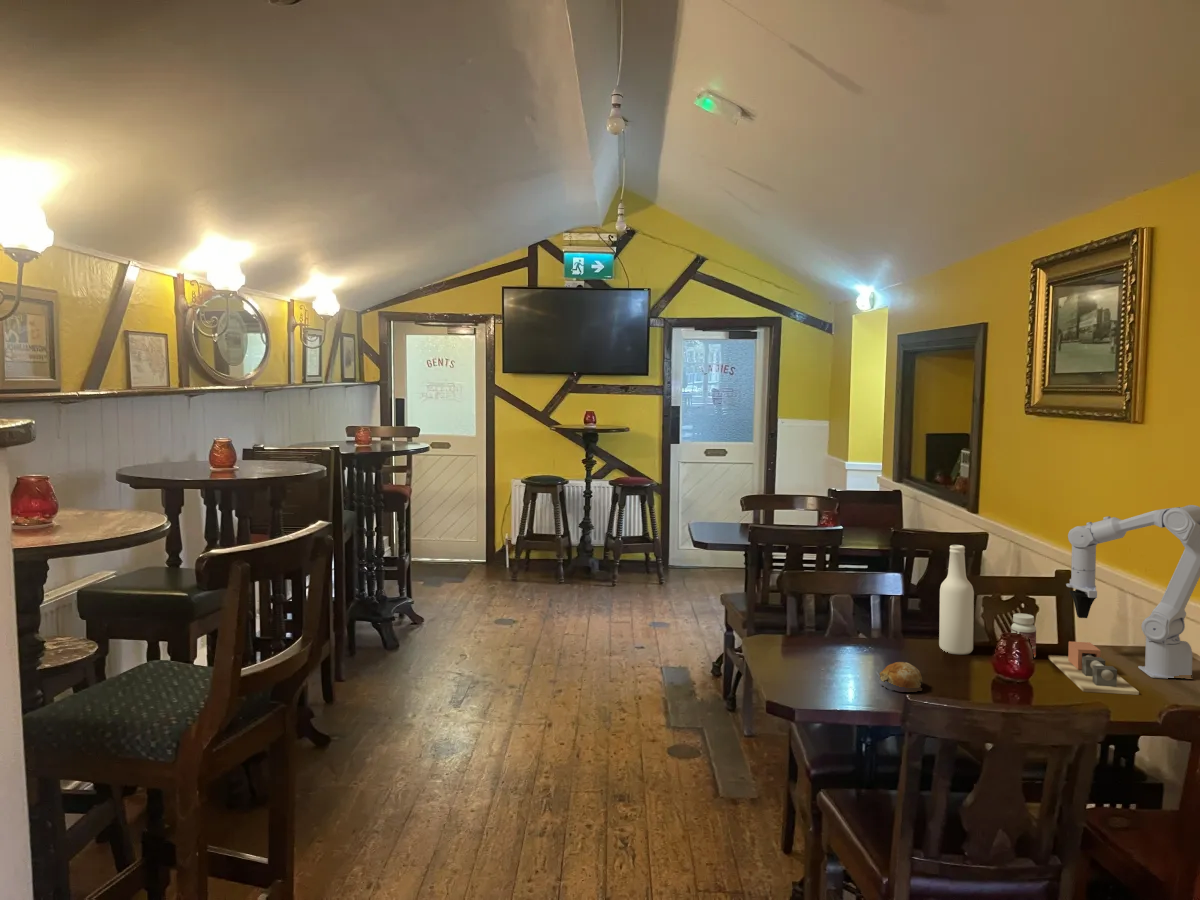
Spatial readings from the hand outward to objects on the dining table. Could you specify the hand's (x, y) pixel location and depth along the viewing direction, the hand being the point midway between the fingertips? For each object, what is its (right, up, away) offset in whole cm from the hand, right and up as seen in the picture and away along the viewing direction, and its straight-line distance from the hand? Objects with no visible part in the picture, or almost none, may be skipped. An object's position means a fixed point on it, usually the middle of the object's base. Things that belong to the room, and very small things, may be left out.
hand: (1082, 617), depth 222 cm
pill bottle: (-16, -11, 0) cm, 20 cm away
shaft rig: (-8, -12, -16) cm, 21 cm away
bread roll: (-59, -13, -22) cm, 64 cm away
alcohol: (-33, -11, +6) cm, 35 cm away
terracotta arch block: (-7, -10, -12) cm, 17 cm away
